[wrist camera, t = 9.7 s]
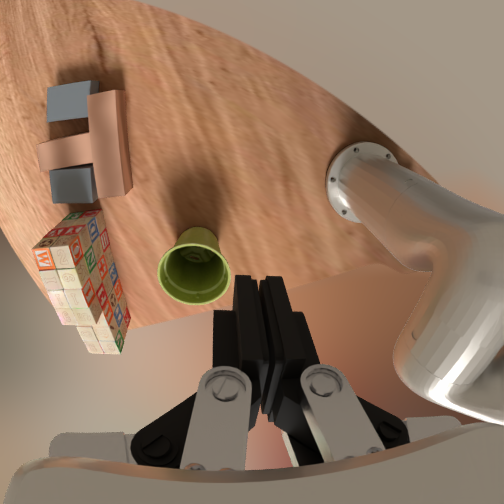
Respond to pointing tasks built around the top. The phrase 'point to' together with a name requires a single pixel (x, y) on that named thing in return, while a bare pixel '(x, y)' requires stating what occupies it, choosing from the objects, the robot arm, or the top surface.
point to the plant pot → (194, 268)
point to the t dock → (79, 176)
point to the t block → (96, 145)
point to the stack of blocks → (84, 280)
